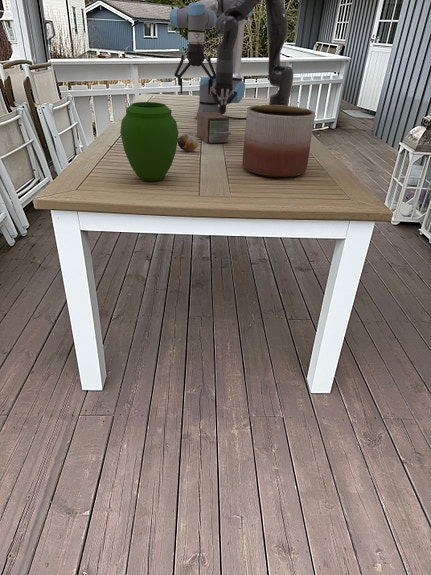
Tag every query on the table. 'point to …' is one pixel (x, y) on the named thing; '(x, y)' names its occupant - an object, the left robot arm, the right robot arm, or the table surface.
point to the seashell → (188, 142)
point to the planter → (277, 140)
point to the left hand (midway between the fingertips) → (195, 93)
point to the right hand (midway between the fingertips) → (222, 113)
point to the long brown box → (207, 124)
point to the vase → (149, 139)
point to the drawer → (219, 131)
